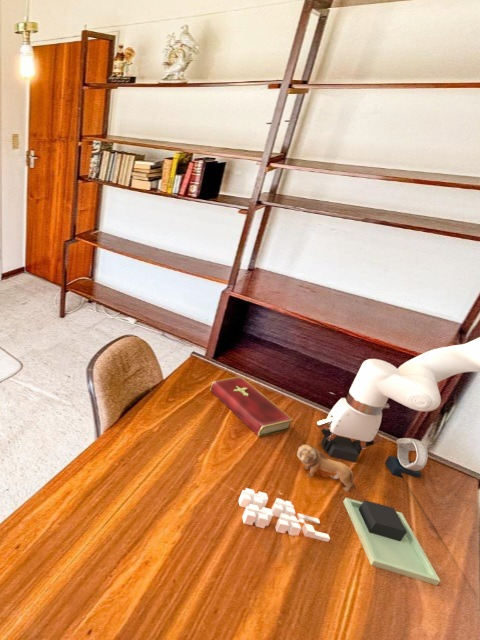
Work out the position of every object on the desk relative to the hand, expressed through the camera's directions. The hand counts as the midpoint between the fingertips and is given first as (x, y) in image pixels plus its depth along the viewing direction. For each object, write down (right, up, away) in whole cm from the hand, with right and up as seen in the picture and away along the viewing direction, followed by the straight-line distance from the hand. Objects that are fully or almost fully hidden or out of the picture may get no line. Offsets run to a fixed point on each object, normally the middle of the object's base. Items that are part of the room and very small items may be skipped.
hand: (338, 450), depth 112 cm
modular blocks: (-29, -8, -19) cm, 36 cm away
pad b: (0, 0, 0) cm, 1 cm away
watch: (+13, -4, -5) cm, 14 cm away
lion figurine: (-11, -4, -8) cm, 14 cm away
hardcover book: (-18, +7, +15) cm, 24 cm away
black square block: (-6, -9, -20) cm, 22 cm away
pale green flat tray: (-7, -11, -22) cm, 26 cm away
